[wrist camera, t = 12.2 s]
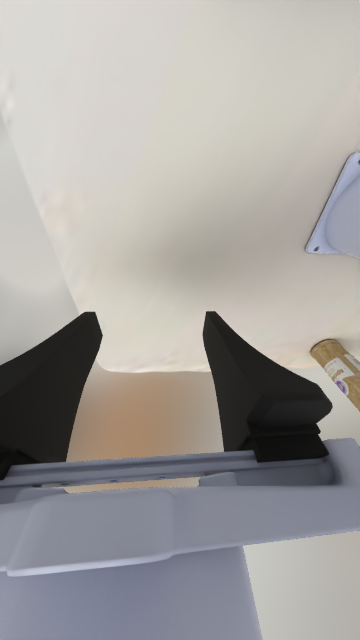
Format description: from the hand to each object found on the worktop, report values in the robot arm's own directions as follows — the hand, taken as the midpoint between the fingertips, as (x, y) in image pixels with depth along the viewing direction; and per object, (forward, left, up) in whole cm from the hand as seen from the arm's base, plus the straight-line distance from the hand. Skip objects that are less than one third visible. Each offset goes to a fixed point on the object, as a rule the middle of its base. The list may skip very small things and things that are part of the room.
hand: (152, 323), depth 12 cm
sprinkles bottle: (-28, +14, -10) cm, 33 cm away
